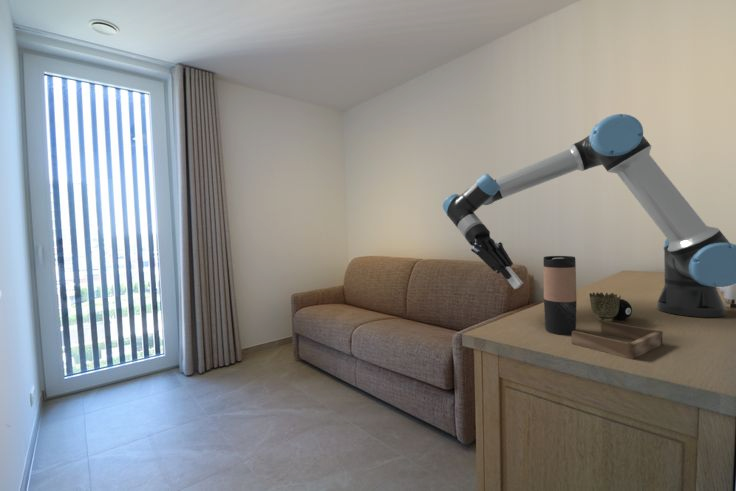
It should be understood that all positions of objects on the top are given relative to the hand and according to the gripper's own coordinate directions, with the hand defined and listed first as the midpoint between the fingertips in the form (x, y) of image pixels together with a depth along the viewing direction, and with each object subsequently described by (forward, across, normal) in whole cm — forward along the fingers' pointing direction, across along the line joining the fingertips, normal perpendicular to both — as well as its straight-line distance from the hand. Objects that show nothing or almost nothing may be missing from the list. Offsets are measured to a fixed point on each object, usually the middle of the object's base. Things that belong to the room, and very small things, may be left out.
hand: (518, 286), depth 102 cm
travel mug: (+16, 0, +1) cm, 16 cm away
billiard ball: (+19, -24, +4) cm, 31 cm away
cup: (+18, -18, +3) cm, 26 cm away
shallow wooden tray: (+25, 0, +10) cm, 27 cm away
